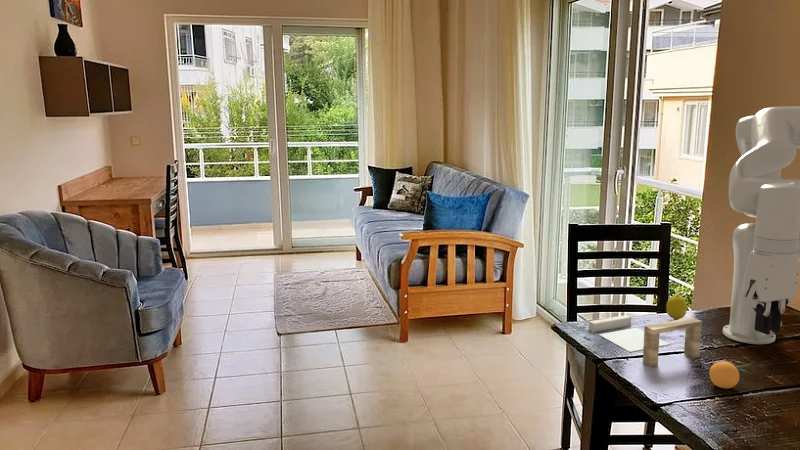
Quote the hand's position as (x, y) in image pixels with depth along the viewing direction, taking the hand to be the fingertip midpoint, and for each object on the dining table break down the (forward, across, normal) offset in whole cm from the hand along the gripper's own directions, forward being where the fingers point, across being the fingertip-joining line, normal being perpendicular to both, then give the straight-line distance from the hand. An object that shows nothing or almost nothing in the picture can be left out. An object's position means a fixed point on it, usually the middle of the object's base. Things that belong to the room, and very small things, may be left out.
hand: (767, 330), depth 122 cm
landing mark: (+17, 0, -40) cm, 43 cm away
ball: (+14, 0, -10) cm, 17 cm away
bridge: (+17, 0, -26) cm, 31 cm away
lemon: (+17, -21, -46) cm, 54 cm away
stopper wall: (+17, 0, -50) cm, 52 cm away
